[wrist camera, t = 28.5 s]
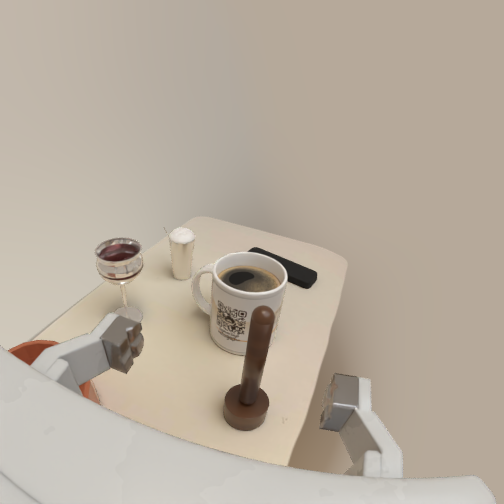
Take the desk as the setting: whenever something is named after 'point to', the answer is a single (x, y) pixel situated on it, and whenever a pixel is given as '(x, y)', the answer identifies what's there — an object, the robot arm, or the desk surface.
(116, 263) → the wineglass
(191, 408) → the desk surface
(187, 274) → the milkshake
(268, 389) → the desk surface
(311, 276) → the remote control
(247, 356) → the brown plunger
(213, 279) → the mug
